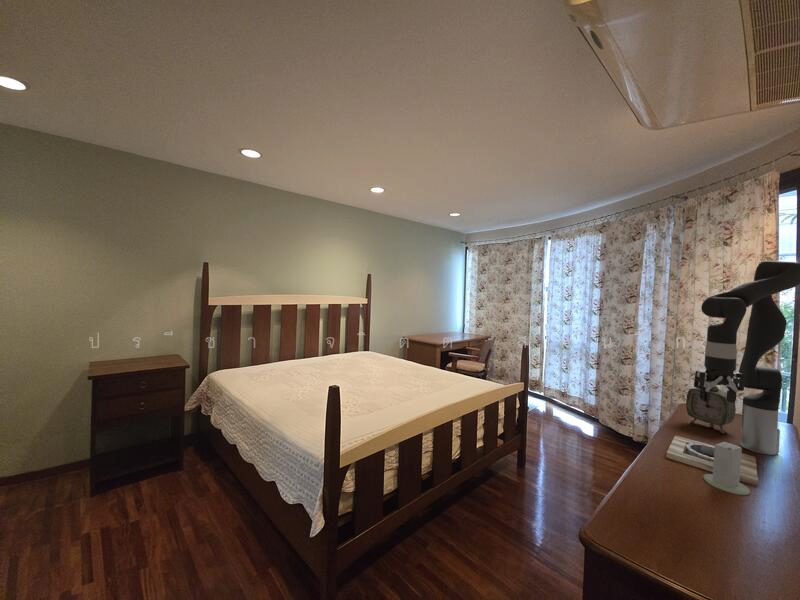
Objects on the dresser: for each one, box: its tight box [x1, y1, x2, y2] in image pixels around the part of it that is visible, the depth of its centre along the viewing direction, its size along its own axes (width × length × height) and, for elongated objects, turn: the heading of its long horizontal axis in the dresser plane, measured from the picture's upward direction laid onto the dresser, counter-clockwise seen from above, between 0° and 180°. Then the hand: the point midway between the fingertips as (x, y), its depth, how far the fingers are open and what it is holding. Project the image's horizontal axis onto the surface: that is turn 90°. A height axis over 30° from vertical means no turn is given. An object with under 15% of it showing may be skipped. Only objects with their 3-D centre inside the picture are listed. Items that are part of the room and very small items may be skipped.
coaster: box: [703, 473, 751, 496], centre depth 97 cm, size 10×10×1 cm
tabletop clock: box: [685, 382, 737, 435], centre depth 142 cm, size 14×9×25 cm, turn 23°
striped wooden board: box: [666, 435, 759, 487], centre depth 113 cm, size 22×22×2 cm
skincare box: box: [712, 441, 743, 488], centre depth 97 cm, size 6×4×12 cm
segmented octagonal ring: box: [685, 443, 715, 462], centre depth 113 cm, size 13×13×3 cm
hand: (717, 401), depth 106 cm, fingers open, 8 cm apart
